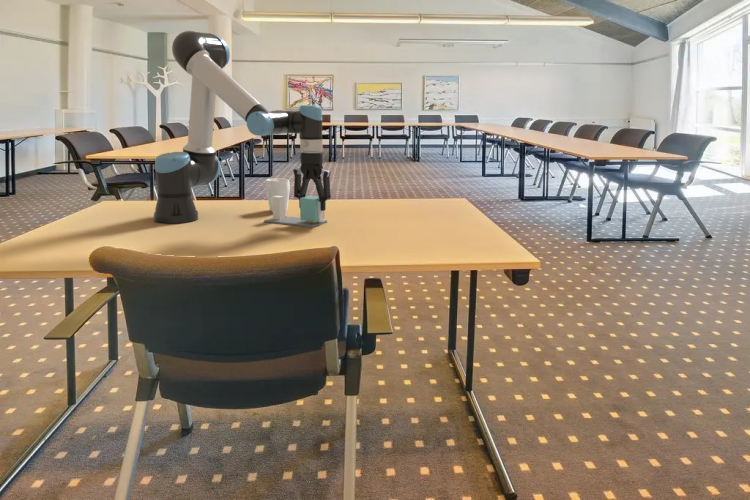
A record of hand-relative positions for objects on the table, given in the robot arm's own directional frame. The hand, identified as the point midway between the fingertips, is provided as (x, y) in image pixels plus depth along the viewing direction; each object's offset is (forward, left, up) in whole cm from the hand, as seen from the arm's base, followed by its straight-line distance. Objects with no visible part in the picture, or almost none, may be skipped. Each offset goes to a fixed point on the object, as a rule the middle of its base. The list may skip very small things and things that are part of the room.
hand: (312, 218), depth 219 cm
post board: (-7, 0, -2) cm, 7 cm away
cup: (-25, +16, -2) cm, 30 cm away
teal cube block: (0, 0, 0) cm, 0 cm away
